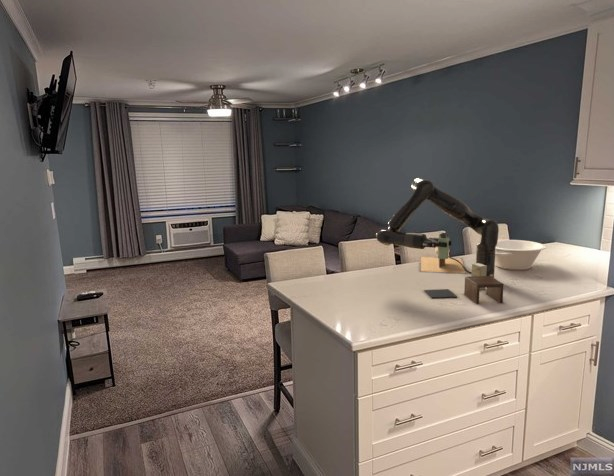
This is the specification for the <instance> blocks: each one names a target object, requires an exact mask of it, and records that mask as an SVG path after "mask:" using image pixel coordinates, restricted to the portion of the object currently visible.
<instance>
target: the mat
mask: <svg viewBox="0 0 614 476" xmlns="http://www.w3.org/2000/svg"><path fill="white" fill-rule="evenodd" d="M424 292H425V293H426V294H427V296H429V297H430V298H431V299H453V298H455V299H457V298H458V296H457V295H456V294H455V293H454V292H453V291H451V290H450V289H448V288H445V289H444V288H443V289H441V288H440V289H424Z"/></svg>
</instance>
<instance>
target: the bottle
mask: <svg viewBox="0 0 614 476" xmlns="http://www.w3.org/2000/svg"><path fill="white" fill-rule="evenodd" d="M440 234H441V237H439V236H438V237H437V238H438V242H445V243H447V247H438V254H437V258H439V259H448V258H449V257H448V256H449V252H450V251H449V248H450V246H449V241H450V237H449V236H448V233H447V232H446V233H445V232H440ZM448 251H449V252H448Z"/></svg>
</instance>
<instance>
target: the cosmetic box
mask: <svg viewBox="0 0 614 476" xmlns="http://www.w3.org/2000/svg"><path fill="white" fill-rule="evenodd" d="M470 272H471V273H470V276H486V272H487V266H486V265H483V264H480V263H476V262H475V263H471V271H470ZM481 290H486V288H480V291H481Z"/></svg>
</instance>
